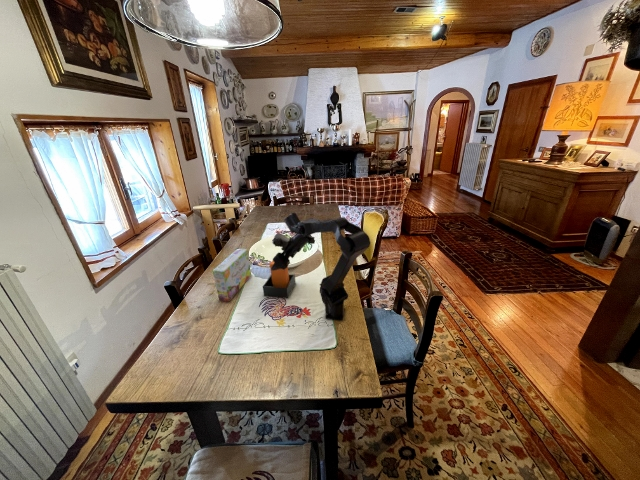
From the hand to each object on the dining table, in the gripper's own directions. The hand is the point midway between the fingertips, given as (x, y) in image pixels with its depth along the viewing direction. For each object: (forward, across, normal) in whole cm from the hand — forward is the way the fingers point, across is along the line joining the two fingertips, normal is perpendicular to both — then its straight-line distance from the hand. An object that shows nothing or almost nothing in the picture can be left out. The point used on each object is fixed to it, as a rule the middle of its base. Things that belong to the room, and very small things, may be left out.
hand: (275, 264), depth 108 cm
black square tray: (+9, 0, +10) cm, 13 cm away
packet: (+8, 0, +10) cm, 13 cm away
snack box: (+24, +1, -5) cm, 24 cm away
